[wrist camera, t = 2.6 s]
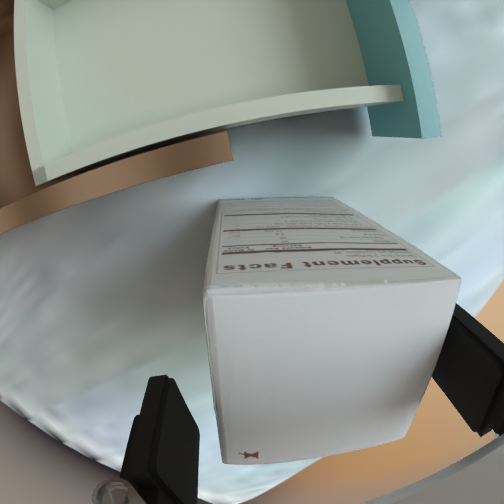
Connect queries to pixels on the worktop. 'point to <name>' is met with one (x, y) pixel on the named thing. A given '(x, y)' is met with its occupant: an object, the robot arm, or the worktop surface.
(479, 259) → the worktop surface
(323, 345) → the supplement box
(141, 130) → the tray
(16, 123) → the organizer
